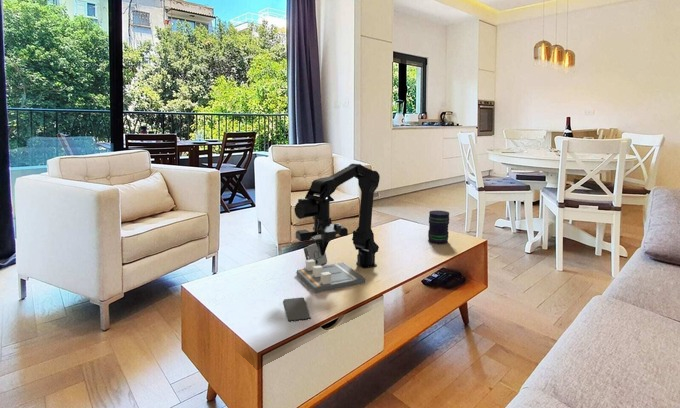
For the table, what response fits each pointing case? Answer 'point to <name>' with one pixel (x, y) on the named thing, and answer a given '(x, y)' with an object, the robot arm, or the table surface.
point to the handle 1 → (310, 264)
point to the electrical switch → (315, 254)
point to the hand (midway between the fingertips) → (322, 255)
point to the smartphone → (296, 309)
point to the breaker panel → (332, 278)
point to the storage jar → (438, 227)
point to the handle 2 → (326, 278)
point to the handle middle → (317, 271)
